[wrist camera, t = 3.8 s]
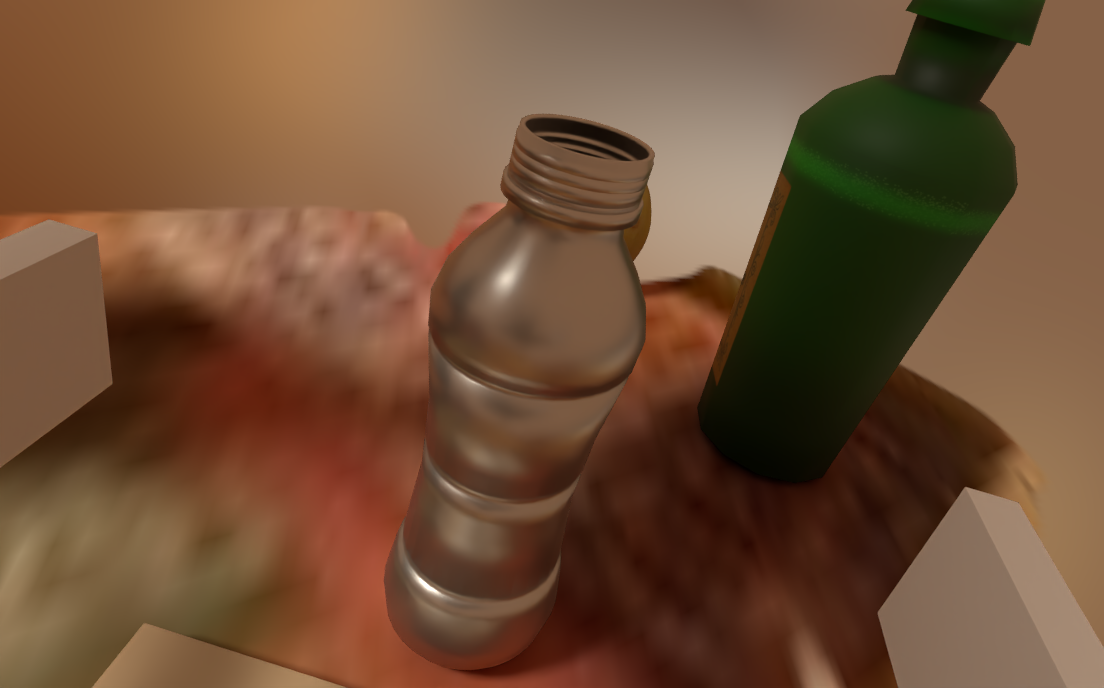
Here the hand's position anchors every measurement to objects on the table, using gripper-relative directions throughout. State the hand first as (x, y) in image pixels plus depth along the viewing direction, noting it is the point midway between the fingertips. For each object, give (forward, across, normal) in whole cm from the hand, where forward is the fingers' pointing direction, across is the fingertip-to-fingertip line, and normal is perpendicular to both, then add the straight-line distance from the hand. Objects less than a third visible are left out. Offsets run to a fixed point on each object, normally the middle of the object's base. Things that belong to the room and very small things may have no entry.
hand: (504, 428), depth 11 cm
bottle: (+29, +13, -18) cm, 37 cm away
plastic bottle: (+10, -1, -18) cm, 21 cm away
